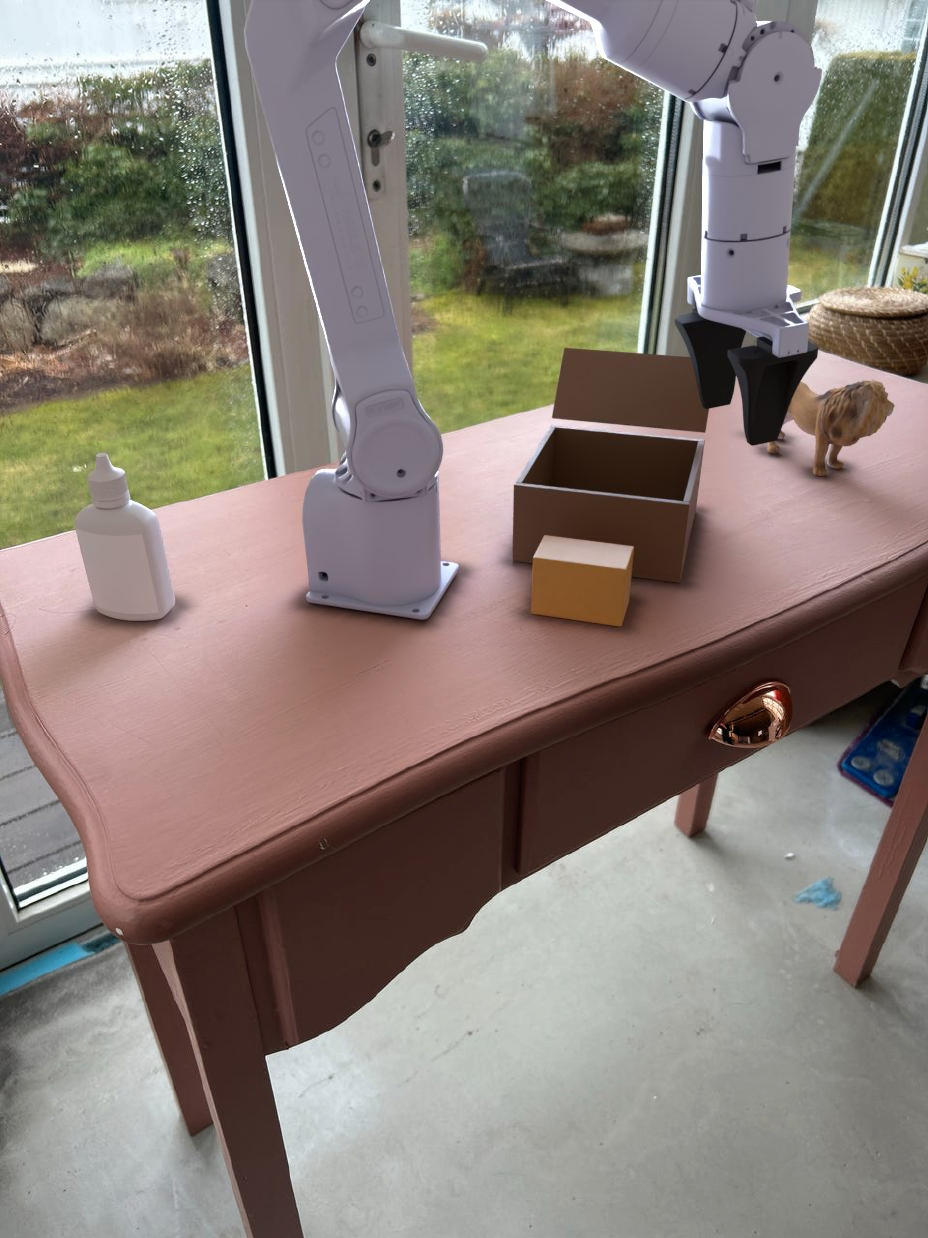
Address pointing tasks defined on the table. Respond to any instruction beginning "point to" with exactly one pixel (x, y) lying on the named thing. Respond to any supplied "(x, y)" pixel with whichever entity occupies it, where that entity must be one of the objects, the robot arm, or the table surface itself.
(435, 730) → the table surface
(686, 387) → the flap
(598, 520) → the bread box
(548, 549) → the beige block
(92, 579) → the eye dropper bottle
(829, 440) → the lion figurine
